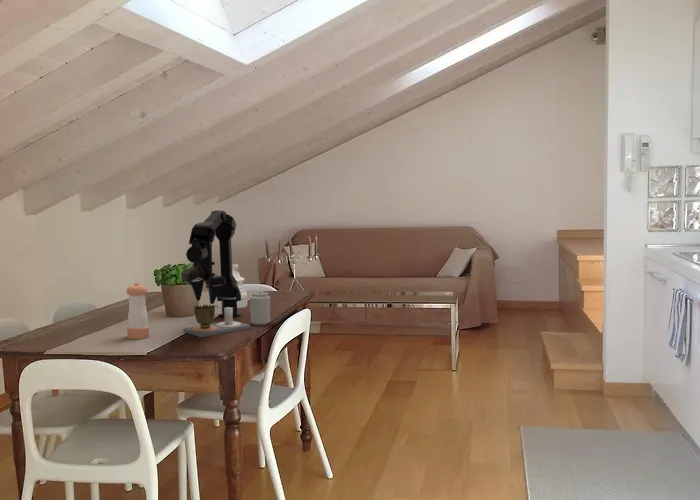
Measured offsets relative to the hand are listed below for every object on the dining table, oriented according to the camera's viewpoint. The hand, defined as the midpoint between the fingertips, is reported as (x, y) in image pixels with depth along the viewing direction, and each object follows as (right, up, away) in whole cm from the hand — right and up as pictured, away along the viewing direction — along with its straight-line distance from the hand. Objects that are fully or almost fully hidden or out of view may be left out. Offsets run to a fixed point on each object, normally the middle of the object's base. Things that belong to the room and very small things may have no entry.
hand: (205, 302), depth 254 cm
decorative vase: (0, -10, +1) cm, 10 cm away
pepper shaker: (-22, -12, -6) cm, 26 cm away
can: (+18, -10, +15) cm, 26 cm away
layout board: (+4, -11, +4) cm, 12 cm away
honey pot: (+1, -6, +51) cm, 52 cm away
